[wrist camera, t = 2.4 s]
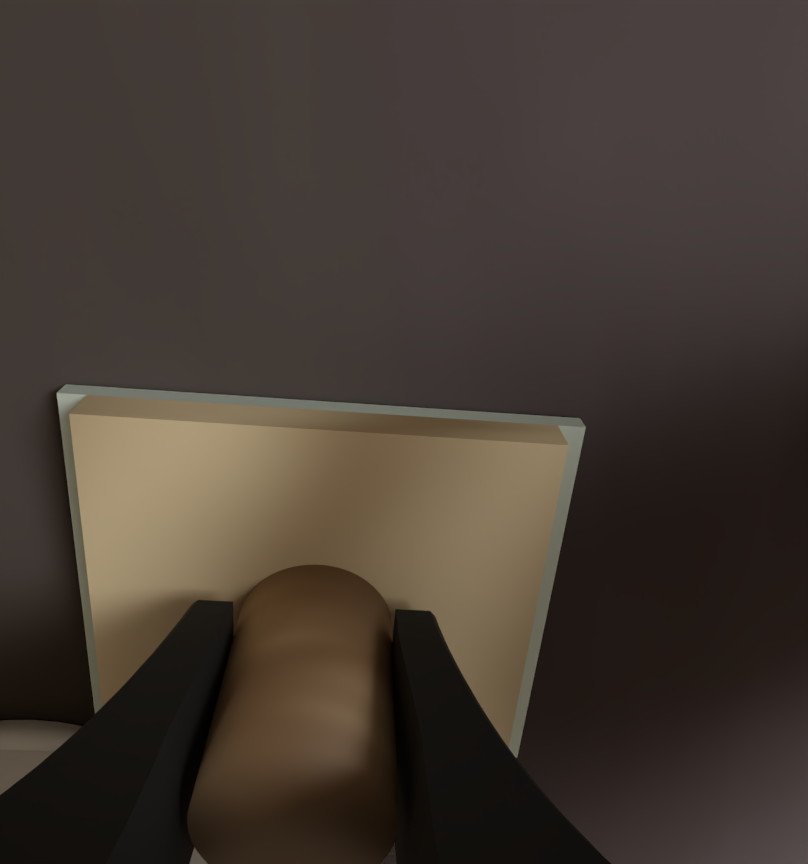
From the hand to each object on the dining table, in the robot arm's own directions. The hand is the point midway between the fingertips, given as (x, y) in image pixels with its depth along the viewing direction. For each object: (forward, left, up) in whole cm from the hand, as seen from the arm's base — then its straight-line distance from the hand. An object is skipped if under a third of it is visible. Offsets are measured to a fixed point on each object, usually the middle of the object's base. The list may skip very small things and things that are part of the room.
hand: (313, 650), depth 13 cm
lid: (0, 0, -1) cm, 1 cm away
